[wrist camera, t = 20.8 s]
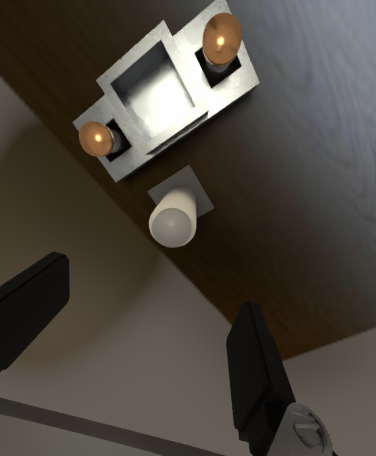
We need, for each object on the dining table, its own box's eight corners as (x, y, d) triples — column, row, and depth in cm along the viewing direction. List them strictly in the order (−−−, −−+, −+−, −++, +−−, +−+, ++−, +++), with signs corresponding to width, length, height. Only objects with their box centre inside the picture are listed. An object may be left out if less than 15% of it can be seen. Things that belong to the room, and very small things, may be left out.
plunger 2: (234, 76, 25) (248, 45, 18) (210, 94, 26) (214, 71, 19) (221, 47, 24) (230, 1, 17) (196, 66, 25) (195, 31, 18)
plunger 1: (138, 146, 29) (117, 145, 22) (120, 159, 30) (93, 162, 23) (123, 123, 28) (96, 114, 21) (105, 138, 29) (72, 133, 22)
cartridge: (199, 187, 31) (201, 211, 19) (192, 216, 33) (190, 255, 20) (168, 181, 30) (150, 200, 18) (163, 211, 32) (144, 246, 20)
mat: (214, 207, 32) (214, 208, 32) (174, 229, 34) (174, 230, 34) (189, 164, 30) (189, 164, 29) (148, 190, 32) (147, 191, 31)
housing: (219, 18, 24) (228, -43, 16) (251, 92, 26) (271, 69, 19) (88, 126, 29) (50, 117, 21) (125, 178, 31) (102, 187, 24)
